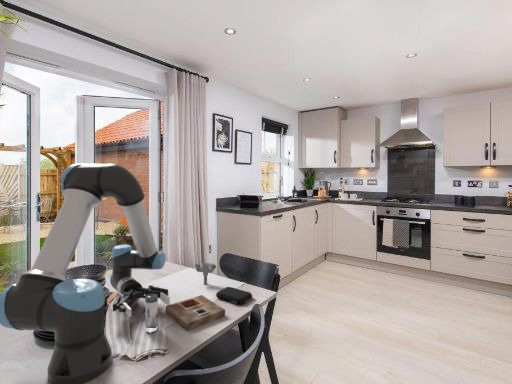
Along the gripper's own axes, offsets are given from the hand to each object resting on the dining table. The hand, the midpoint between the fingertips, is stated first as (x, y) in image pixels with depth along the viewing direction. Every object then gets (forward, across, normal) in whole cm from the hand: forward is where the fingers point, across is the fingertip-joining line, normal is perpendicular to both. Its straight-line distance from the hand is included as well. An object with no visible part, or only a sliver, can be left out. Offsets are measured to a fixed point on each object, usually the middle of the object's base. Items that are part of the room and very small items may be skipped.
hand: (150, 307), depth 101 cm
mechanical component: (-21, -35, -7) cm, 42 cm away
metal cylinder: (+3, +1, -7) cm, 7 cm away
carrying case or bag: (+1, -36, -7) cm, 37 cm away
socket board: (+3, -16, -7) cm, 18 cm away
